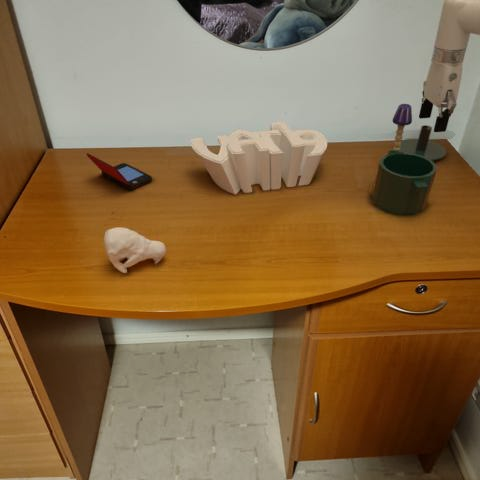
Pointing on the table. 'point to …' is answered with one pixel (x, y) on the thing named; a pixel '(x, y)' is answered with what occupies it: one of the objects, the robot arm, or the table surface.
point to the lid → (423, 145)
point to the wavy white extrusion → (263, 158)
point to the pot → (403, 183)
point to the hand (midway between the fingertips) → (431, 124)
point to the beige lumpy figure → (131, 248)
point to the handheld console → (122, 173)
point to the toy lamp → (401, 122)
